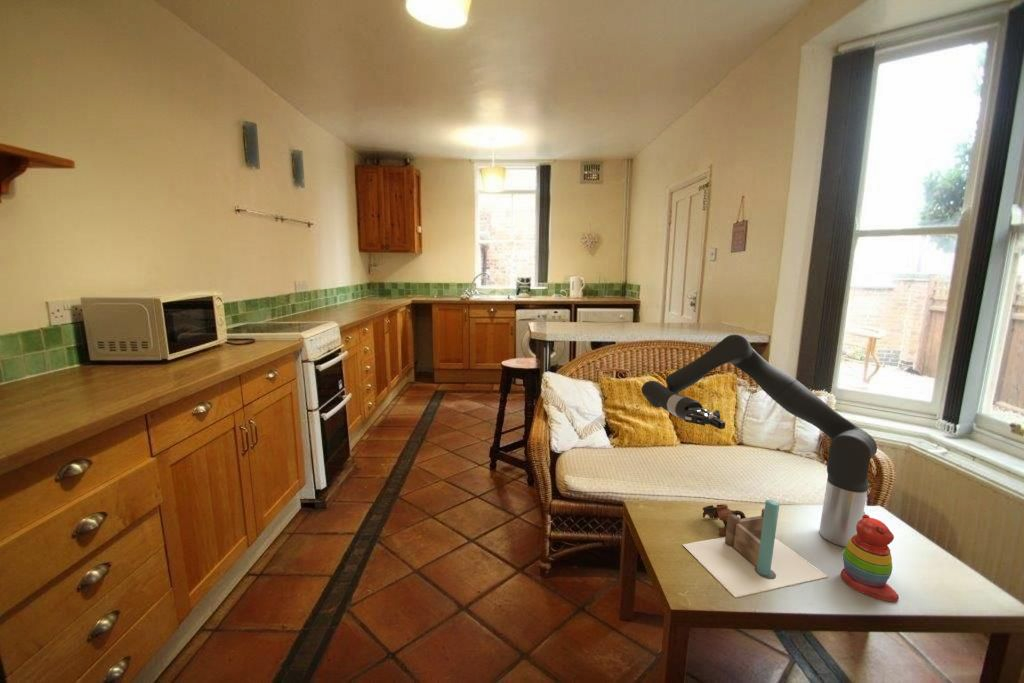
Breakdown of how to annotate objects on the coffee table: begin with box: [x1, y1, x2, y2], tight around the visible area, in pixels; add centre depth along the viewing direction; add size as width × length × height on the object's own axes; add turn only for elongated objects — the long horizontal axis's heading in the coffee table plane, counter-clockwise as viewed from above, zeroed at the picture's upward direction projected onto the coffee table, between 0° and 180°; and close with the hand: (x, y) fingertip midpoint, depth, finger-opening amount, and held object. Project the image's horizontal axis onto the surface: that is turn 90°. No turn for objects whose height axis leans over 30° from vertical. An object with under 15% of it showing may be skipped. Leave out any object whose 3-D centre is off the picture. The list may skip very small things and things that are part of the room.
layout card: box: [682, 536, 829, 599], centre depth 114 cm, size 29×20×1 cm
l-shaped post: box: [734, 499, 780, 576], centre depth 111 cm, size 12×3×20 cm, turn 11°
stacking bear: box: [840, 513, 900, 603], centre depth 104 cm, size 11×10×18 cm
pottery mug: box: [702, 503, 747, 537], centre depth 128 cm, size 12×10×8 cm
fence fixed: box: [724, 508, 765, 547], centre depth 121 cm, size 15×3×8 cm, turn 105°
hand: (723, 425), depth 122 cm, fingers closed
